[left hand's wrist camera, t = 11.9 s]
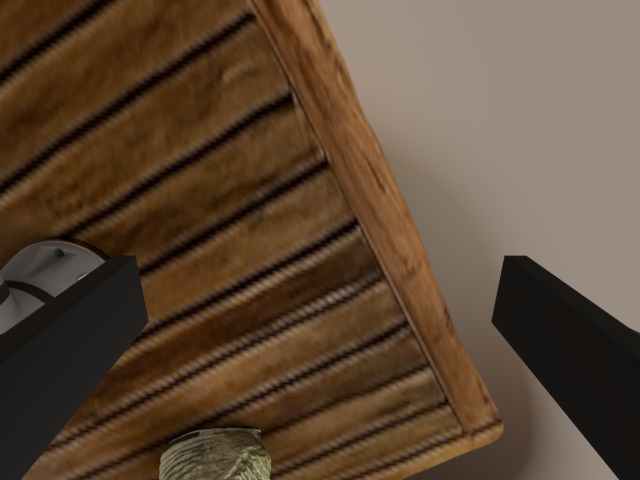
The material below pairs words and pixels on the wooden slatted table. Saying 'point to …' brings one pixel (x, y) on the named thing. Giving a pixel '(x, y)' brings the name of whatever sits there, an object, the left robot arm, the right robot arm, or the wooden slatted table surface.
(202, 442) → the fossil
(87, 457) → the wooden slatted table surface
